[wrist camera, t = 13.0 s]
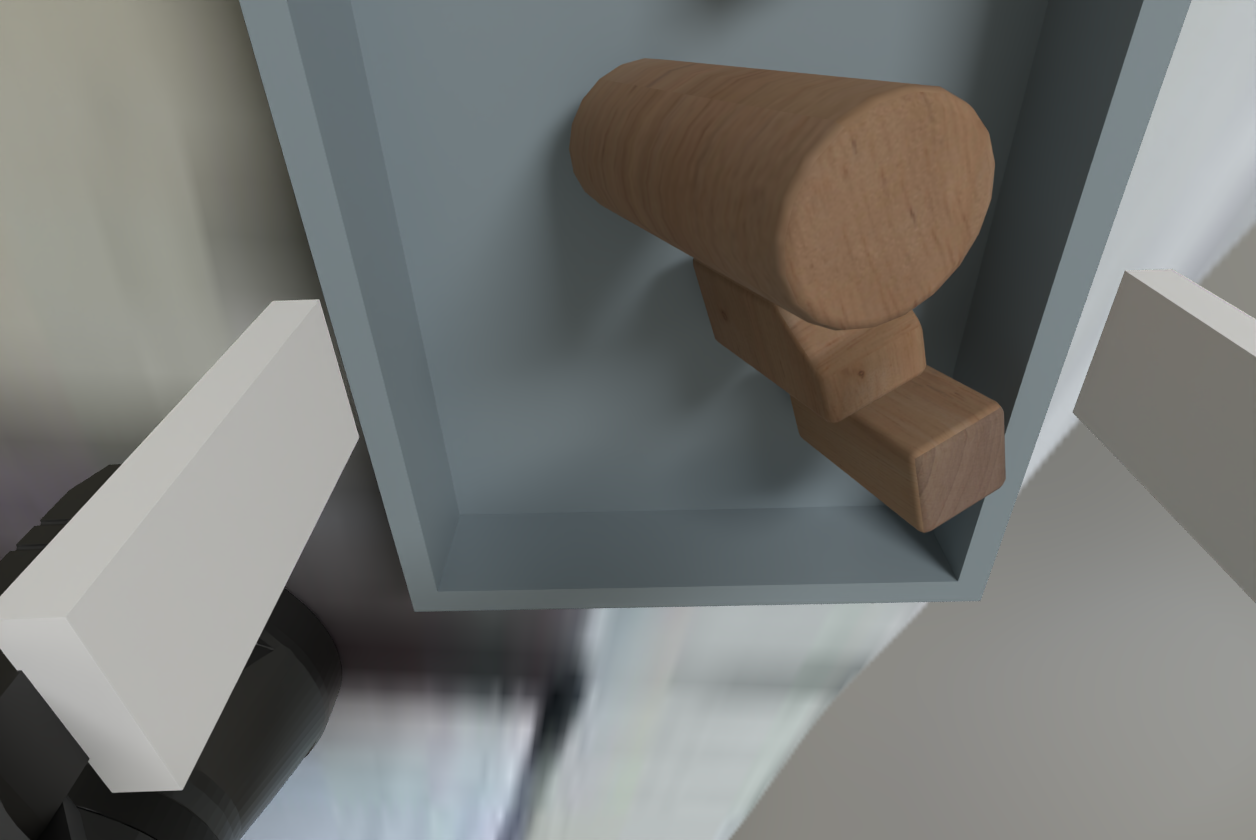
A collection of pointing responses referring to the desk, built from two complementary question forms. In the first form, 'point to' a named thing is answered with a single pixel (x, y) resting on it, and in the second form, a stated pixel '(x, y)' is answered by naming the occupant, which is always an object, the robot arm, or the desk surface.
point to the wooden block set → (816, 249)
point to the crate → (666, 287)
